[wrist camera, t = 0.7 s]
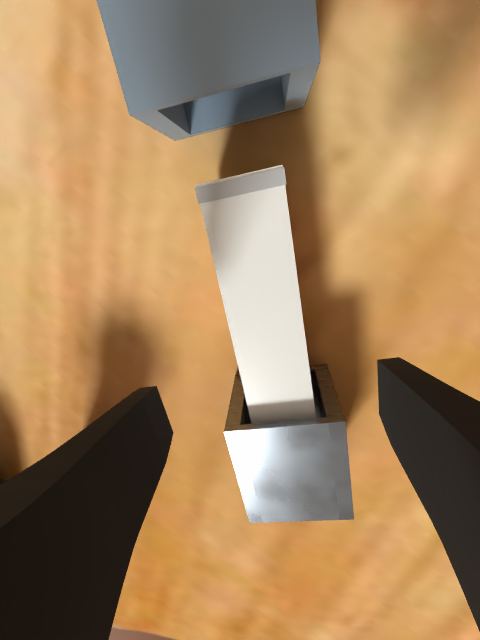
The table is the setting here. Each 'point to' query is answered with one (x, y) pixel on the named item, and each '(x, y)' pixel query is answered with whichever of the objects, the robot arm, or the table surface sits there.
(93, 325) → the table surface
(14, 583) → the robot arm
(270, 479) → the metal block
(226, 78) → the socket
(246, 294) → the long white plank
